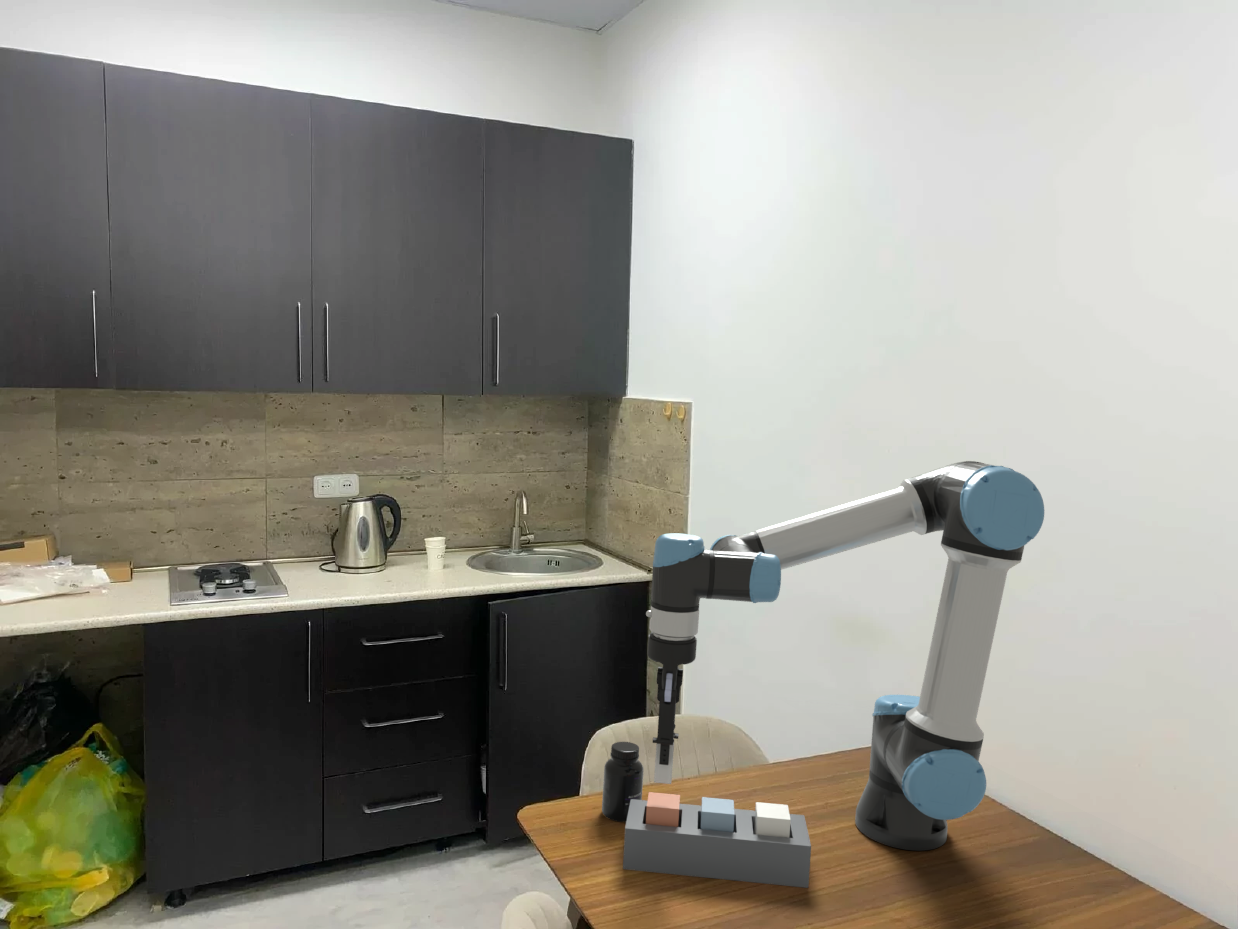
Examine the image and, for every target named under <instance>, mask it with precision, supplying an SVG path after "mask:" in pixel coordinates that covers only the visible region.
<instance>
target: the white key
mask: <svg viewBox="0 0 1238 929" xmlns="http://www.w3.org/2000/svg"><path fill="white" fill-rule="evenodd" d="M754 809H755V810H754V811H755V823H754V834H755V835H766V836H776V837H786V838H789V835H790V821H791V820H790V814H791V813H790V810H789V809H790V808H789V805H788V804H782V803H781V804H780V803H769V802H760V801H759V802H758V801H757V802H756V801H755V808H754Z"/></svg>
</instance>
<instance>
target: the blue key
mask: <svg viewBox="0 0 1238 929" xmlns="http://www.w3.org/2000/svg"><path fill="white" fill-rule="evenodd" d="M700 806H701V823H700V829H703V830H714V831H724V832H733V830H734V809H735V801H734V799H728V798H727V799H726V798H717V797H708V796H707V797H706V796H702V797H701V805H700Z"/></svg>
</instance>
